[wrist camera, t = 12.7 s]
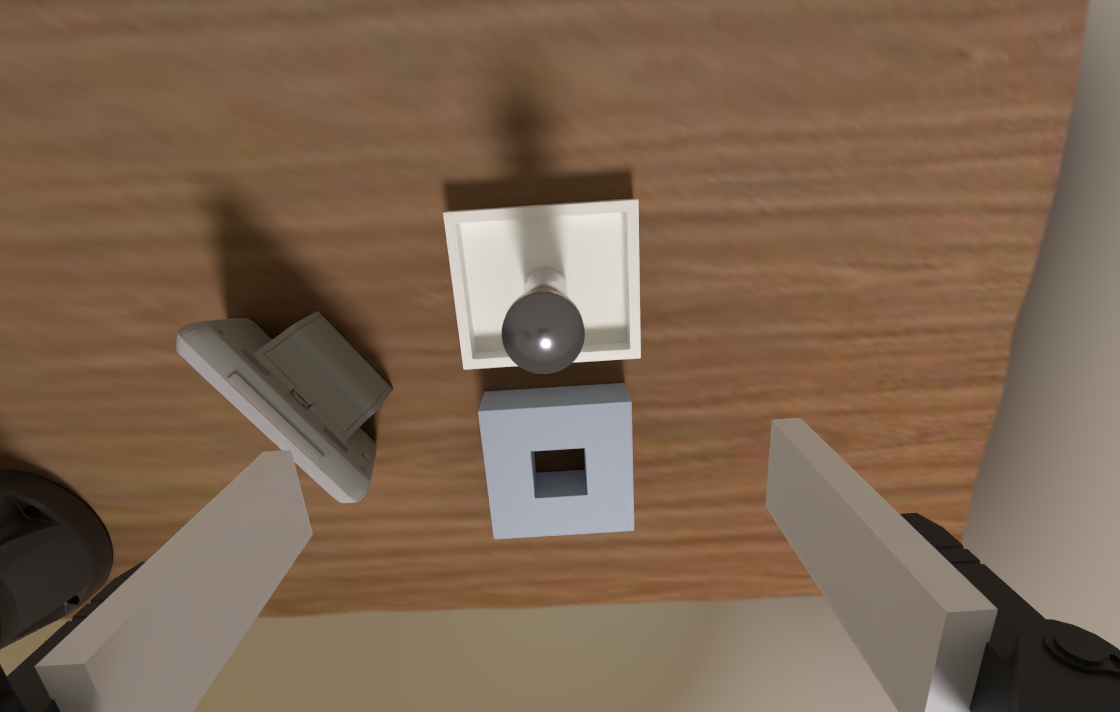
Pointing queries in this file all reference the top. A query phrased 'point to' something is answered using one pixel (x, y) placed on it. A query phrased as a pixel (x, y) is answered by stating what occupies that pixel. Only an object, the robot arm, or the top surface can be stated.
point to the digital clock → (296, 393)
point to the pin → (543, 325)
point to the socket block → (556, 424)
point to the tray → (554, 241)
